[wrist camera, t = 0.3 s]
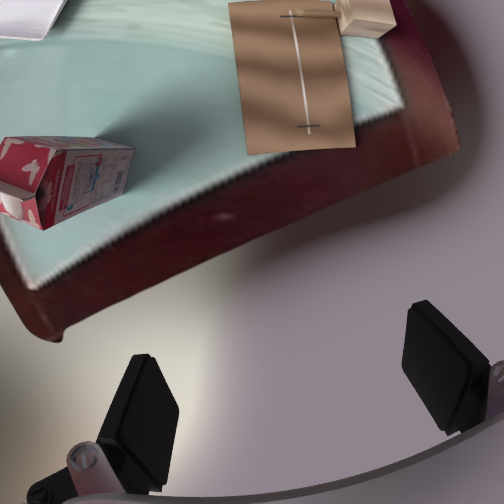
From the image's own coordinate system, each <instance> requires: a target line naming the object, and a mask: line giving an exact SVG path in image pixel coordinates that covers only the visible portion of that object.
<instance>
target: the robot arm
mask: <svg viewBox="0 0 504 504" xmlns="http://www.w3.org/2000/svg"><path fill="white" fill-rule="evenodd" d="M402 369H403V371H404V373H405V374H406V376H407V377H408V379H409V381H410V382H411V384H412V385H413V387H414V388H415V390H416V392H417V393H418V395H419V396H420V398H421V400H422V401H423V403H424V404H425V406H426V408H427V409H428V411H429V413H430V414H431V416H432V418H433V419H434V421H435V423H436V424H437V426H438V428H439V429H440V430H441V431H443V430H444V431H445V433H446V434H447V436H449V435H451V434H453V433H455V432H457V431H459V430H460V432H461V434H459V435H457V436H455V437H453V438H451V439H449V440H447V441H445V442H443V443H440V444H439V445H436V446H434V447H432V448H430V449H427V450H425V451H423V452H420V453H418V454H416V455H413V456H411V457H408V458H406V459H403V460H400V461H398V462H395V463H393V464H390V465H387V466H384V467H381V468H378V469H375V470H372V471H369V472H365V473H362V474H358V475H355V476H351V477H348V478H344V479H340V480H336V481H332V482H328V483H323V484H319V485H314V486H309V487H304V488H298V489H292V490H287V491H279V492H272V493H263V494H254V495H243V496H225V497H171V496H153V495H149V491H154V492H162V486H163V485H165V484H166V483H167V479H168V473H169V467H170V462H171V456H172V450H173V444H174V439H175V434H176V427H177V422H178V418H179V407H178V405H177V403H176V401H175V399H174V397H173V395H172V393H171V391H170V389H169V387H168V385H167V383H166V381H165V378H164V376H163V374H162V372H161V370H160V368H159V366H158V364H157V362H156V359H155V358H154V357H151V356H150V355H149V354H138V355H133V356H132V358H131V360H130V362H129V365H128V367H127V369H126V371H125V373H124V376H123V378H122V380H121V382H120V385H119V387H118V389H117V391H116V394H115V396H114V398H113V401H112V403H111V405H110V408H109V410H108V413H107V415H106V418H105V420H104V422H103V425H102V427H101V430H100V432H99V435H98V438H97V440H96V443H94V442H90V441H87V442H82V443H79V444H77V445H75V446H74V447H73V448H72V449H71V450H70V451H69V453H68V455H67V459H66V462H67V467H65V468H64V469H62V470H60V471H58V472H56V473H54V474H52V475H50V476H48V477H46V478H44V479H43V480H41V481H39V482H37V483H35V484H33V485H32V486H31V487H30V489H29V490H28V493H27V503H26V504H504V360H503V361H499V362H497V363H495V364H494V365H493V366H491V365H490V364H489V360H488V359H487V358H486V357H485V356H484V355H483V354H482V353H481V352H480V351H479V350H478V349H477V348H476V347H475V345H474V344H473V343H472V342H470V341H469V339H468V338H467V337H465V335H463V334H462V332H461V331H459V330H458V329H457V328H456V327H455V326H454V325H453V324H452V323H451V322H450V321H449V320H448V319H447V318H446V317H445V316H444V315H443V314H442V313H441V312H440V311H439V310H438V309H436V308H435V307H434V306H433V305H432V304H431V303H430V302H429V301H428V300H423V301H420V302H417V303H413V304H412V306H411V308H410V309H409V310H408V315H407V324H406V334H405V343H404V350H403V357H402ZM21 504H25V503H24V502H22V503H21Z"/></svg>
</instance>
